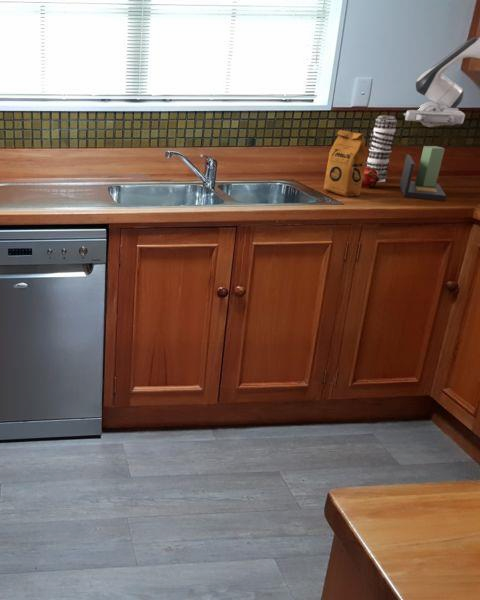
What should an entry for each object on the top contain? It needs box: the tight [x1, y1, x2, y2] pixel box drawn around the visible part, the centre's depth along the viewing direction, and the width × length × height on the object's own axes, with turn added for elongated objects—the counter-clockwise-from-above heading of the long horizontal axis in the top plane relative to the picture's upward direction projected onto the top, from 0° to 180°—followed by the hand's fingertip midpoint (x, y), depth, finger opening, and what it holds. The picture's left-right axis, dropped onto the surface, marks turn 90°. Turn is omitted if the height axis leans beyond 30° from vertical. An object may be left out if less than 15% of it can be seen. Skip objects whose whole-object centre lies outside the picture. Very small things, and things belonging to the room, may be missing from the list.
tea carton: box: [414, 145, 445, 186], centre depth 227 cm, size 5×5×14 cm
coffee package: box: [322, 129, 367, 198], centre depth 218 cm, size 10×12×22 cm
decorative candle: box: [365, 114, 398, 183], centre depth 242 cm, size 9×9×25 cm
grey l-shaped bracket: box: [399, 154, 447, 202], centre depth 223 cm, size 13×22×12 cm, turn 158°
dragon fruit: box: [361, 165, 380, 189], centre depth 234 cm, size 8×8×12 cm
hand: (436, 119), depth 231 cm, fingers open, 8 cm apart
